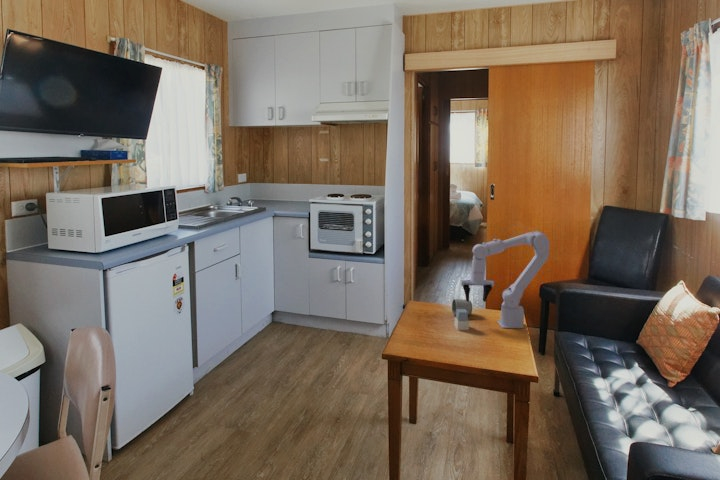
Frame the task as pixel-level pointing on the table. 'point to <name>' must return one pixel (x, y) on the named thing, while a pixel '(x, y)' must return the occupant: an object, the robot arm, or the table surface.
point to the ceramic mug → (461, 306)
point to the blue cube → (461, 314)
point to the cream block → (461, 325)
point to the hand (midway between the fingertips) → (475, 301)
